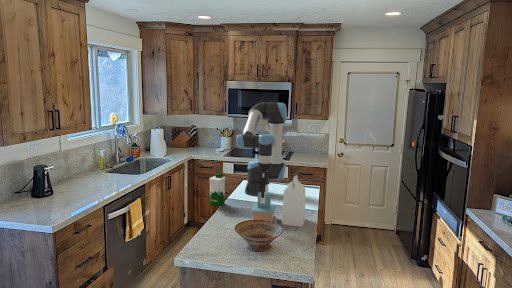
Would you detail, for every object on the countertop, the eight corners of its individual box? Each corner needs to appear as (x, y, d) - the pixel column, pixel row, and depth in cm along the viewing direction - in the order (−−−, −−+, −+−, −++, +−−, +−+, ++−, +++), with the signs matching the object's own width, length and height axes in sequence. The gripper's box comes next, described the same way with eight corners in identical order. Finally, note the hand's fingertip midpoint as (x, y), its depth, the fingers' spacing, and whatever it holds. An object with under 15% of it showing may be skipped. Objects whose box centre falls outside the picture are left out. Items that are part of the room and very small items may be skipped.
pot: (255, 216, 206) (255, 204, 205) (274, 217, 204) (274, 206, 203) (252, 223, 195) (252, 211, 194) (272, 224, 193) (272, 212, 192)
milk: (302, 226, 191) (304, 180, 187) (281, 224, 194) (283, 178, 190) (305, 219, 202) (307, 175, 198) (285, 216, 205) (287, 173, 201)
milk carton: (226, 204, 225) (226, 173, 222) (220, 208, 217) (220, 177, 214) (214, 202, 228) (214, 172, 225) (207, 206, 220) (207, 175, 216)
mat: (230, 207, 218) (230, 206, 218) (255, 209, 216) (255, 208, 216) (224, 217, 203) (224, 216, 203) (251, 219, 200) (251, 218, 200)
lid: (254, 204, 206) (254, 189, 204) (276, 205, 204) (277, 191, 202) (250, 211, 193) (250, 196, 192) (274, 213, 191) (274, 198, 190)
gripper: (261, 157, 207) (260, 192, 210) (255, 167, 182) (254, 206, 186) (273, 158, 206) (272, 193, 209) (269, 167, 181) (268, 207, 185)
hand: (264, 199), depth 198 cm, fingers open, 13 cm apart
